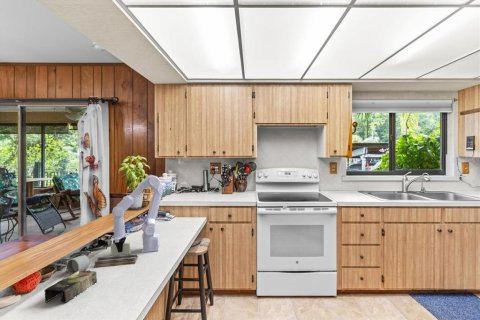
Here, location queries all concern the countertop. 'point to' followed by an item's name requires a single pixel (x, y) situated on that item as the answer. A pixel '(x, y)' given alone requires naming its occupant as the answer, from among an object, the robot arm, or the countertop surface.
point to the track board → (116, 260)
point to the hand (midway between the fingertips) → (120, 251)
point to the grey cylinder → (77, 264)
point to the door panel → (125, 251)
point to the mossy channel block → (71, 285)
